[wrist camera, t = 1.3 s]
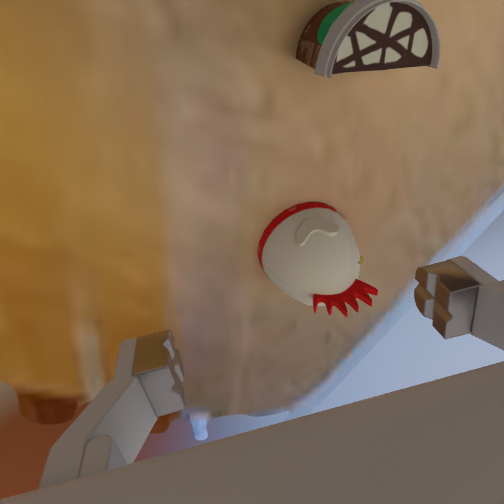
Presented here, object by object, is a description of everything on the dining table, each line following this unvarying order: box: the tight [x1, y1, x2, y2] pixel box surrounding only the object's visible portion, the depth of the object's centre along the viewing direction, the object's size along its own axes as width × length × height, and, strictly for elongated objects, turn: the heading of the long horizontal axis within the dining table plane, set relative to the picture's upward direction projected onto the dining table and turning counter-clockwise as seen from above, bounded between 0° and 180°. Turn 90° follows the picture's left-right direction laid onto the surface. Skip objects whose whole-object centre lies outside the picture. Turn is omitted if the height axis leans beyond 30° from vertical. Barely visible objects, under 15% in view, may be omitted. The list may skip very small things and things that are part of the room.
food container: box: [296, 0, 440, 78], centre depth 37 cm, size 12×6×10 cm, turn 91°
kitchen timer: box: [258, 202, 378, 317], centre depth 51 cm, size 14×14×15 cm
